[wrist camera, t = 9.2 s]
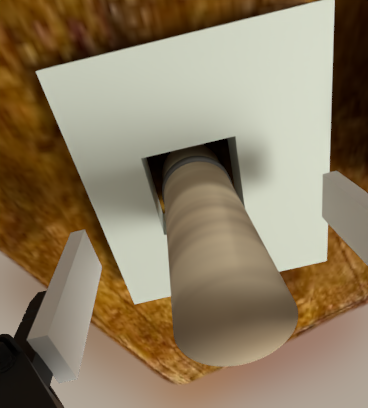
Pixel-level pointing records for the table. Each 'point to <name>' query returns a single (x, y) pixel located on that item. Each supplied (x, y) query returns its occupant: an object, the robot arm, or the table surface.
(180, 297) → the maple dowel
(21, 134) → the table surface
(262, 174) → the socket board
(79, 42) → the table surface
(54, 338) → the robot arm
